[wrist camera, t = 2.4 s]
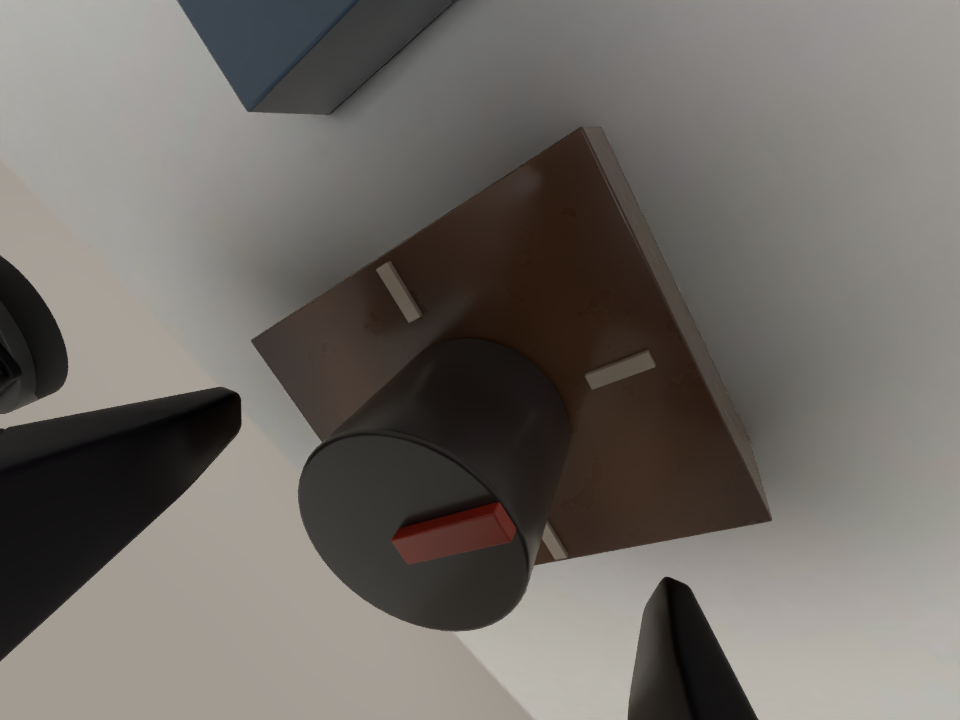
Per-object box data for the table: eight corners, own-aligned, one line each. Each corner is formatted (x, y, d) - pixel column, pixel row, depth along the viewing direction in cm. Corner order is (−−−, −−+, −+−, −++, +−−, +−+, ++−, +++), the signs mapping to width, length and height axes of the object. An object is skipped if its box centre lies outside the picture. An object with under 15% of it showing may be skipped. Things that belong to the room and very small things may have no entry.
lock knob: (455, 511, 13) (375, 657, 10) (366, 376, 12) (241, 481, 9) (603, 470, 11) (575, 636, 8) (511, 305, 10) (427, 404, 7)
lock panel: (457, 520, 18) (420, 591, 15) (316, 306, 16) (245, 342, 13) (752, 444, 13) (774, 527, 10) (601, 125, 11) (580, 125, 8)
